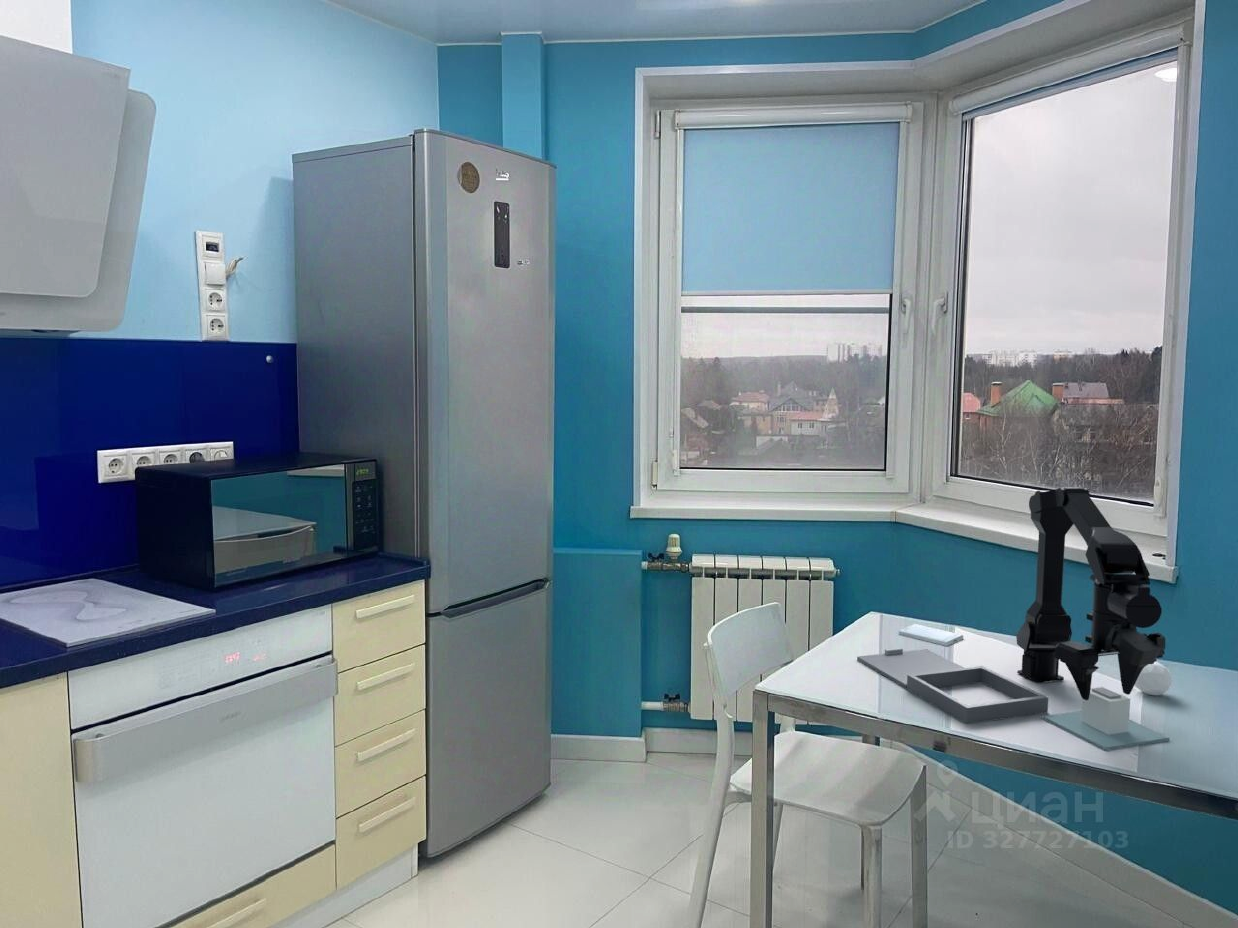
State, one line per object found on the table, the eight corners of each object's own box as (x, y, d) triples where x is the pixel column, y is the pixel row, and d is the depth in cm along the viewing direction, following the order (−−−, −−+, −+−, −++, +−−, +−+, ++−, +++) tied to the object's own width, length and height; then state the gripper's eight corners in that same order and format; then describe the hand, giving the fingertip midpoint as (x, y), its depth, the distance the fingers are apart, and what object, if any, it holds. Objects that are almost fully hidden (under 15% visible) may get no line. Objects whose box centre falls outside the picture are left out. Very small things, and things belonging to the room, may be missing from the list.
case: (926, 652, 195) (926, 639, 194) (1047, 712, 160) (1048, 697, 160) (857, 659, 190) (857, 646, 189) (966, 723, 155) (967, 707, 155)
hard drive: (898, 630, 209) (946, 641, 199) (915, 623, 214) (963, 633, 205) (898, 636, 209) (946, 648, 199) (915, 629, 214) (963, 640, 205)
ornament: (1126, 693, 169) (1122, 657, 173) (1152, 702, 171) (1147, 666, 175) (1155, 687, 164) (1150, 650, 167) (1182, 696, 166) (1176, 659, 169)
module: (1100, 718, 156) (1102, 684, 155) (1128, 731, 150) (1130, 696, 150) (1080, 721, 155) (1082, 687, 154) (1108, 734, 149) (1110, 699, 148)
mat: (1103, 709, 161) (1103, 707, 161) (1169, 740, 148) (1169, 737, 148) (1042, 718, 157) (1042, 715, 157) (1104, 750, 144) (1104, 747, 144)
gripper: (1106, 628, 140) (1101, 720, 141) (1194, 619, 145) (1188, 707, 147) (1054, 610, 150) (1050, 696, 152) (1137, 602, 156) (1132, 685, 157)
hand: (1106, 696), depth 152 cm, fingers open, 9 cm apart
